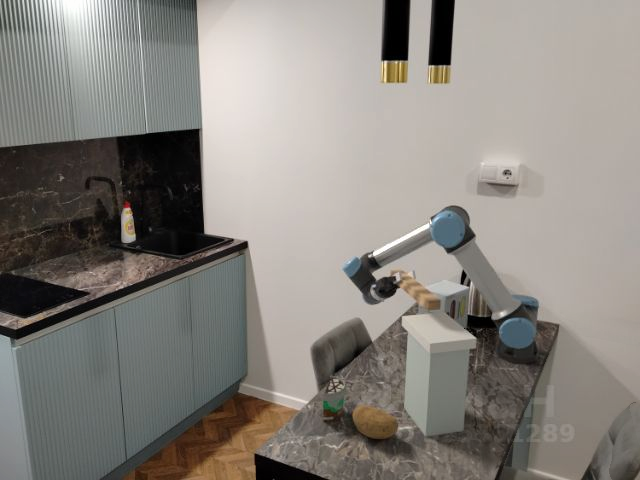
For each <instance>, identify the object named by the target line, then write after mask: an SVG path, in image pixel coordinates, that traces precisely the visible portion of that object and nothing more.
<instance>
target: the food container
mask: <svg viewBox="0 0 640 480" xmlns="http://www.w3.org/2000/svg"><path fill="white" fill-rule="evenodd" d="M347 392H348V389H347V385H346V383H345V381H344V380H343V379H342V378H340V377H339V376H334V375H329V381H328V383H327V386H326V389H325V392H322V393H323V394H322V406H323V407H322V408H323V409H322V410H323V411H322V412H323V413H322V414H323V417H322V418H323V422H325V423H331V422H335V421H338V420H340V419H341V418H342V417H343V414H344V413H343V412H344V402H345V401H344V400H345V395H346V394H347Z"/></svg>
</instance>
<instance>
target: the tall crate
mask: <svg viewBox="0 0 640 480" xmlns="http://www.w3.org/2000/svg"><path fill="white" fill-rule="evenodd" d="M401 326H402V328H403V329H404V330H406V332H407V341H406V342H407V345H406V361H405V362H406V363H405V367H406V368H405V384H404V385H405V386H404V402H403V403H404V404H403V407H404V408H403V409H404V410H405V411H406V412H407V414H408V416H409V417H410V418H411V420H412V421H413V422H414V423H415V424H416V426H417V427H418V429H419V430H420V432H421V433H422V434H423V436H424V437H426V438H427V437H432V436H440V435H445V434H446V435H447V434H452V433H460V432H464V427H465V413H466V402H467V388H468V377H469V376H468V374H469V363H470V362H469V361H470V353H471V352H470V351H471V350H472V349H476V348H477V340H478V339H477V337H476V336H474V335H473V334H472V333H470V332H469V331H468V330H467V328H465V329H464V328H463V327H462V326H461V325H460V324H458V323H457V322H456V321H455V320H453V319H452V318H451V317H450V316H448V315H447V314H446V313H445V312H440V313H430V314H420V315H418V314H414V315H413V314H412V315H403V316H401Z"/></svg>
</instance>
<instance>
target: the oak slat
mask: <svg viewBox="0 0 640 480" xmlns="http://www.w3.org/2000/svg"><path fill="white" fill-rule="evenodd" d="M398 272H401V274H402V280H401V281H399V282H398V283H396V284H397V285H398V286H399V287H401V288H400V289H401V290H403V291H404V292H405V293H406V294H407V295H409V296H410V297H411V298H412V299H414V301H416V302H417V303H418V305H419V304H420V305H422V306H423V307H424V308H425V309H426V310H428V311H430V310H440V306H441V300H440V299H439V298H438V297H436V296H435V295H434V294H433V293H431V292H430V291H429V290H427V289H426V288H425V286H424V285H422V284H421V283H420V282H419V281H418V280H416V279H413V278H412V277H411V276H409V275H408V274H407V273H408V272H405V271H404V270H403V269H391V270H390V271H389V273H390V275H389V276H391V277H392V276H393V275H394V274H396V273H398Z"/></svg>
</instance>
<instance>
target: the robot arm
mask: <svg viewBox="0 0 640 480" xmlns="http://www.w3.org/2000/svg"><path fill="white" fill-rule="evenodd" d="M470 223H471V219H470V215H469V212H468V211H467V210H466V209H465V208H464V207H463V206H460V205H456V204H455V205H454V204H453V205H448V206H445V207H444V208H442V209H441V210H440V211H439V212H437V213H436V214H434V215H432V216H430V217H429V220H428V221H427V222H425V223H423V224H421V225H419V226H416V227H415V228H413V229H411V230H409V231H408V232H405V233H404V234H402V235H400V236H398V237H396V238H394V239H392V240H389V242H386V243H384V244H383V245H381V246H379V247H377V248H375V249H374V250H372V251H368V252H366V253H364V254H363V255H361V256H360V257H358V256H354V257H353V258H352V259H350V260H349V261H348V262H347V263H345V264H344V265H343V266H342V268H341V269H342V271H343V272H344V274H345V275H346V277H347V278H348V279H349V280H350V281H351V282H352V283H353V285H355V287H356V288H357V289H358V290H359V292H360V293H361V296H362V300H363V301H364V303H366V304H367V305H370V306H375V305H378V304H381V303H384V302H385V300H388V299H390V298H391V297H393V296H395V294H396V293H397V290H399V289H402V288H401V287H399V286H398V285H397V284H396V283H398V282H399V281H401V280H402V274H401V272H398V273H396V274H394V275H393V276H392V277H391V276H390V275H389V276H382V277H380V278H379V279H377V278H376V277H375V276H374V275H373V274H374V272H377V271H378V270H380V269H382V268H384V267H386V266H387V265H389V264H391V263H393V262H396V261H397V260H400V259H402V258H403V257H406V256H407V255H409V254H411V253H413V252H415V251H417V250H419V249H421V248H423V247H425V246H428V245H429V244H431V243H433V242H435V244H437V245H438V246H440V247H442V248H443V250H444V251H445V252H446V253H447V255H450V256H453V257H454V258H455V259H456V261H457V262H458V264H459V265H460V267H461V268H462V269H463V271H464V273H465V274H466V276H467V277H468V278H469V280H470V281H471V283H472V284H473V286H474V287H475V289H476V290H477V292H478V293H479V294H480V296H481V298H482V299H483V300H484V302H485V303H486V305H487V306H488V308H489V310H490V311H491V313H492V314H491V321H492V322H493V323H494V324H495V326H496V327H497V329H498V330H499V331H498V334H499V339H498V341H497V343H496V346H495V354H496V356H498V357H499V358H500V359H502V360H504V361H506V362H510V363H513V364H514V363H515V364H521V365H522V364H523V365H524V364H531V363H534V362H537V361H538V358H539V349H538V345H537V340H536V336H537V326H538V324H537V323H538V322H537V321H538V315H539V314H538V313H539V307H540V306H539V305H540V302H539V300H538V299H537V298H535V297H533V296H530V295H523V294H511V293H510V291H509V290H508V288H507V287H506V286H505V284H504V283H503V281H502V279H501V278H500V277H499V275H498V273H497V272H496V271H495V269H494V268H493V266H492V264H490V262H489V260H488V259H487V257H486V256H485V254H484V253H483V252H482V250H481V248H480V247H479V246H478V244H477V242H476V239H477V235H476V233H475V232H474V231H473V229H472V227H471V226H470V225H471V224H470ZM406 273H407V274H408V275H409V276H411V277H412V278H413V279H415V280H416V277H417V276H416V272H415V270H411V271H409V272H406Z"/></svg>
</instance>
